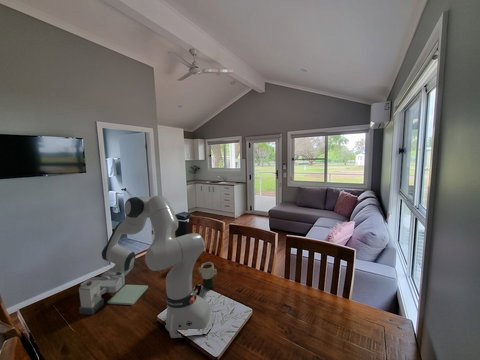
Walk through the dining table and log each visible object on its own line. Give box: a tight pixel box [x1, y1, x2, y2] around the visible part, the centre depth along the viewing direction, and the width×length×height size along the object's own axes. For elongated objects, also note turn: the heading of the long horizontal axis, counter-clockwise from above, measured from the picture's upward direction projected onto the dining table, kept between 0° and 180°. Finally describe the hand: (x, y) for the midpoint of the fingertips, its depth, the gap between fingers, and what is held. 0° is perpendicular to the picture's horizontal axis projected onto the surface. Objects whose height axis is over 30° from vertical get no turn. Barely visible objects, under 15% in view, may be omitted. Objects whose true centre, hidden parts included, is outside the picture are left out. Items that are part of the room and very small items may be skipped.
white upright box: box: [78, 281, 103, 308], centre depth 99 cm, size 6×6×11 cm
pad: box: [107, 284, 149, 306], centre depth 109 cm, size 14×14×1 cm
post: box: [78, 298, 105, 316], centre depth 100 cm, size 7×7×9 cm
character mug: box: [198, 261, 218, 290], centre depth 114 cm, size 11×7×13 cm, turn 77°
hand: (89, 295), depth 98 cm, fingers open, 6 cm apart
